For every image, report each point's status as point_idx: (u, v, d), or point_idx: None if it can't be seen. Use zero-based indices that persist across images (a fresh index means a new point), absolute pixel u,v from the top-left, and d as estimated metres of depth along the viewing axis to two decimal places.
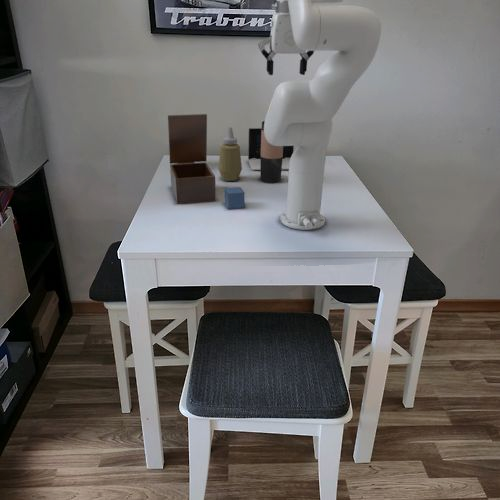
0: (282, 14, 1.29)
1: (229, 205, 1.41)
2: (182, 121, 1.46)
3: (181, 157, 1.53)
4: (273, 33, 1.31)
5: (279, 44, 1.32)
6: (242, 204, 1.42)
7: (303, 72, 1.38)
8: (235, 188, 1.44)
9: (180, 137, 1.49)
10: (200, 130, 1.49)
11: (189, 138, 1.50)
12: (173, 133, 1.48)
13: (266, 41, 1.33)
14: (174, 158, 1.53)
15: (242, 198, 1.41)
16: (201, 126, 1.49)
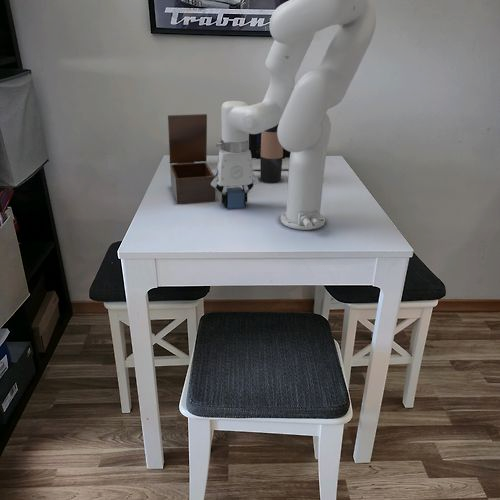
0: (227, 153, 1.34)
1: (229, 205, 1.41)
2: (182, 121, 1.46)
3: (181, 157, 1.53)
4: (219, 169, 1.36)
5: (225, 179, 1.37)
6: (242, 204, 1.42)
7: (244, 203, 1.43)
8: (235, 188, 1.44)
9: (180, 137, 1.49)
10: (200, 130, 1.49)
11: (189, 138, 1.50)
12: (173, 133, 1.48)
13: (216, 178, 1.38)
14: (174, 158, 1.53)
15: (242, 198, 1.41)
16: (201, 126, 1.49)
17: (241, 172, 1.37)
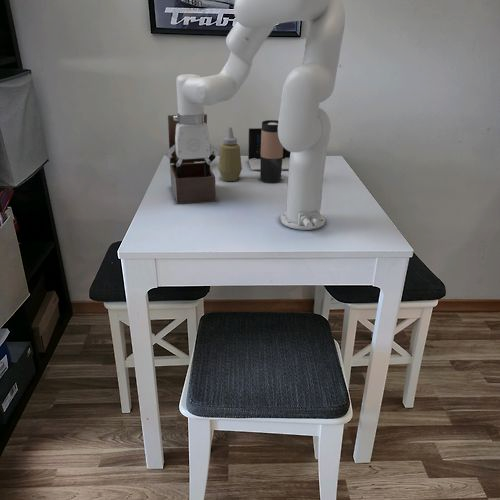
0: (183, 126, 1.37)
1: None
2: None
3: None
4: (176, 142, 1.39)
5: (182, 152, 1.40)
6: None
7: (206, 175, 1.46)
8: None
9: None
10: None
11: None
12: (173, 133, 1.48)
13: (172, 150, 1.41)
14: None
15: None
16: None
17: (198, 145, 1.40)
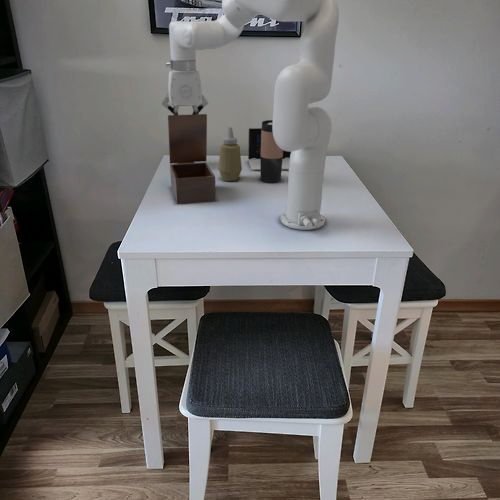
0: (175, 72, 1.41)
1: None
2: (182, 121, 1.46)
3: (181, 157, 1.53)
4: (169, 88, 1.43)
5: (175, 98, 1.44)
6: None
7: None
8: None
9: (180, 137, 1.49)
10: (200, 130, 1.49)
11: (189, 138, 1.50)
12: (173, 133, 1.48)
13: (167, 99, 1.46)
14: (174, 158, 1.53)
15: None
16: (201, 126, 1.49)
17: (190, 92, 1.44)
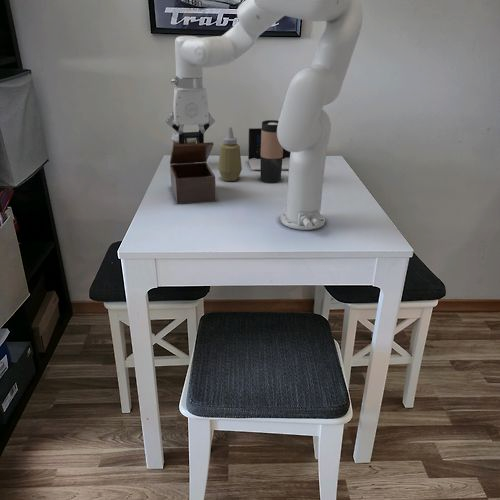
0: (181, 89, 1.34)
1: None
2: (187, 148, 1.41)
3: (182, 161, 1.53)
4: (174, 106, 1.36)
5: (180, 117, 1.37)
6: None
7: None
8: None
9: (183, 154, 1.46)
10: (204, 150, 1.46)
11: (192, 154, 1.47)
12: (176, 153, 1.44)
13: (171, 117, 1.38)
14: (175, 162, 1.52)
15: None
16: (206, 149, 1.45)
17: (196, 110, 1.37)
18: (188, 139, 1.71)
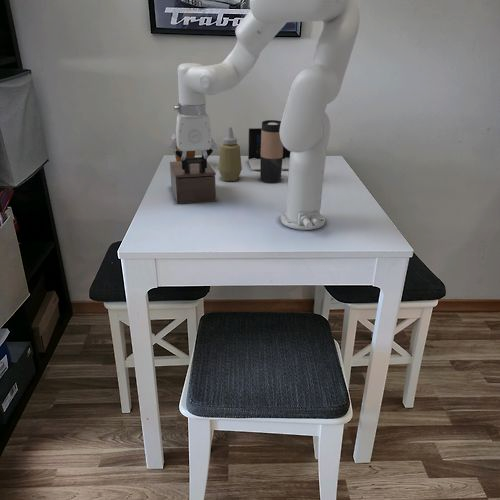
0: (184, 116, 1.33)
1: None
2: None
3: None
4: (177, 133, 1.35)
5: (183, 143, 1.36)
6: None
7: (203, 169, 1.42)
8: None
9: None
10: None
11: None
12: None
13: (174, 143, 1.38)
14: None
15: None
16: None
17: (199, 136, 1.36)
18: None
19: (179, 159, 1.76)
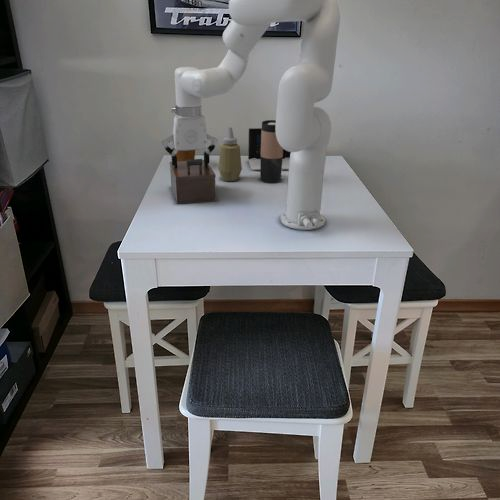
0: (181, 117, 1.39)
1: None
2: None
3: None
4: (174, 133, 1.42)
5: (180, 143, 1.43)
6: None
7: (206, 165, 1.49)
8: None
9: None
10: None
11: None
12: None
13: (168, 140, 1.43)
14: None
15: None
16: None
17: (195, 137, 1.43)
18: None
19: (179, 159, 1.76)
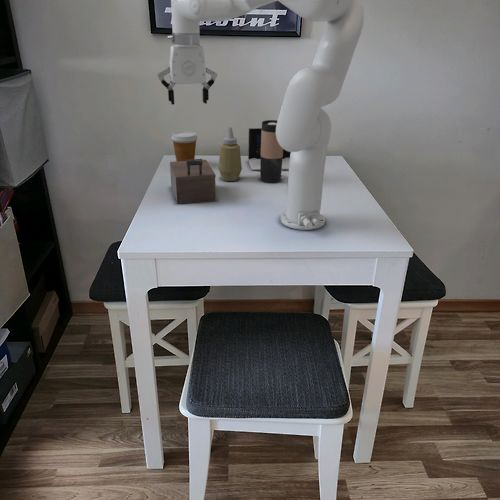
0: (178, 46, 1.31)
1: None
2: None
3: None
4: (170, 64, 1.33)
5: (177, 75, 1.34)
6: None
7: (205, 101, 1.40)
8: None
9: None
10: None
11: None
12: None
13: (165, 72, 1.34)
14: None
15: None
16: None
17: (193, 68, 1.34)
18: (188, 139, 1.71)
19: (179, 159, 1.76)
